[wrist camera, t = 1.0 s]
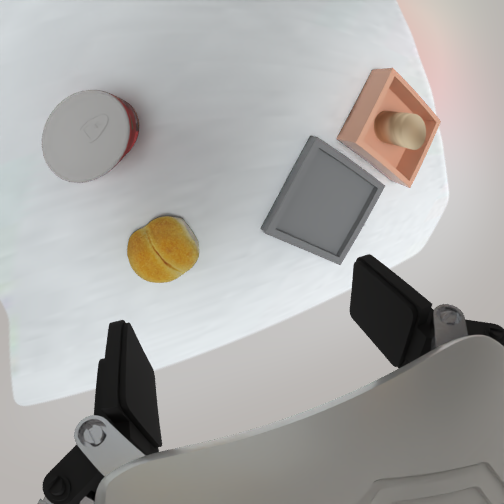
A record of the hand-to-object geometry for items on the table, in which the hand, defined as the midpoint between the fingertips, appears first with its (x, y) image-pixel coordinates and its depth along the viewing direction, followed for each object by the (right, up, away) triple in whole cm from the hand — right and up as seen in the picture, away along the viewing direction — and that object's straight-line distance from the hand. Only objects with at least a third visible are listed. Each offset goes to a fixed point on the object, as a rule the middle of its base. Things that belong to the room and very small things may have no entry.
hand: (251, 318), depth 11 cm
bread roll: (-11, +3, +26) cm, 28 cm away
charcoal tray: (+10, +9, +29) cm, 33 cm away
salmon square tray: (+20, +21, +27) cm, 39 cm away
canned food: (-17, +16, +17) cm, 29 cm away
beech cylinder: (+20, +21, +26) cm, 39 cm away
